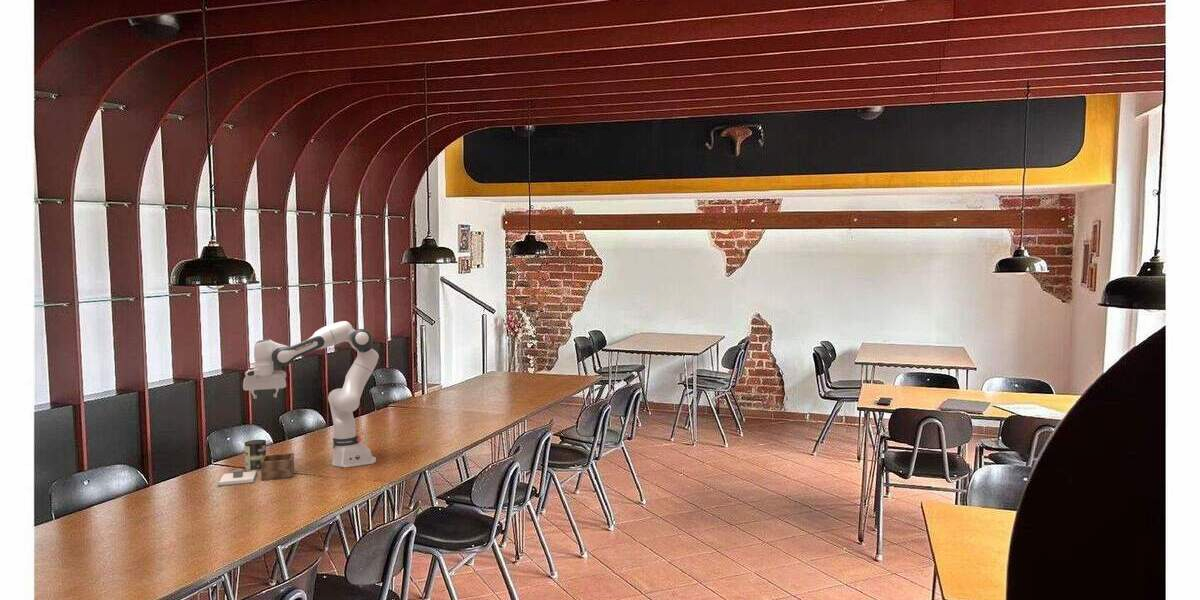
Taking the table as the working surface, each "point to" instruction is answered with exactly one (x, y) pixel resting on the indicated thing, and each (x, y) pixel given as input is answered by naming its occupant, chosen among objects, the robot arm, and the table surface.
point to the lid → (238, 477)
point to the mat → (239, 483)
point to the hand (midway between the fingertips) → (265, 398)
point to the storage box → (277, 466)
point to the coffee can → (254, 454)
